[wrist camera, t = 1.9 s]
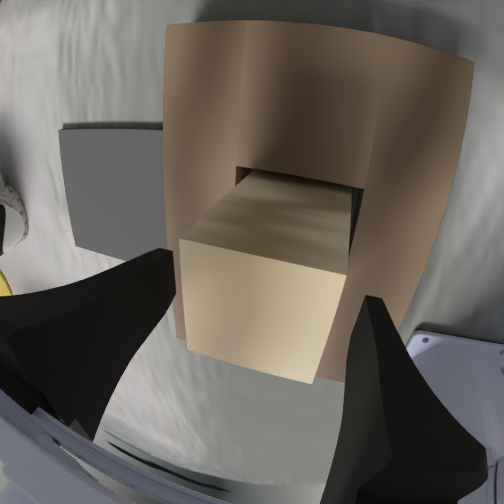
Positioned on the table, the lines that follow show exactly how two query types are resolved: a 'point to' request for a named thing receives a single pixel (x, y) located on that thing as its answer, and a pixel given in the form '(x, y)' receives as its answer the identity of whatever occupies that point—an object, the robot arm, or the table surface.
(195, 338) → the maple block
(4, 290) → the candle
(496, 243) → the table surface
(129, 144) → the rubber mat
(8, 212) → the mug
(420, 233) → the pocket plate
